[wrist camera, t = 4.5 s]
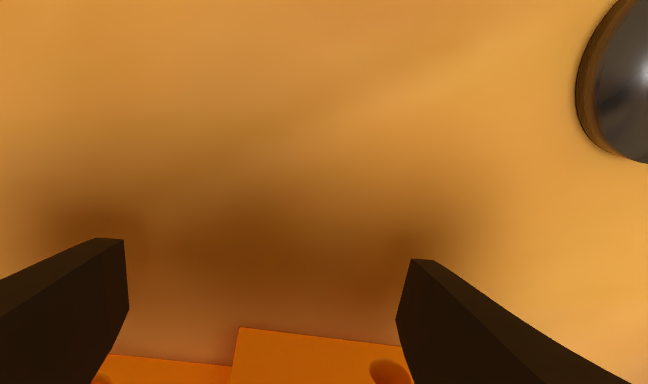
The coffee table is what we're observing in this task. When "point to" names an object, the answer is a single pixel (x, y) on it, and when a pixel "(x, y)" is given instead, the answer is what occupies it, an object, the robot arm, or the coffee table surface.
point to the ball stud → (617, 82)
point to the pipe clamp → (270, 363)
